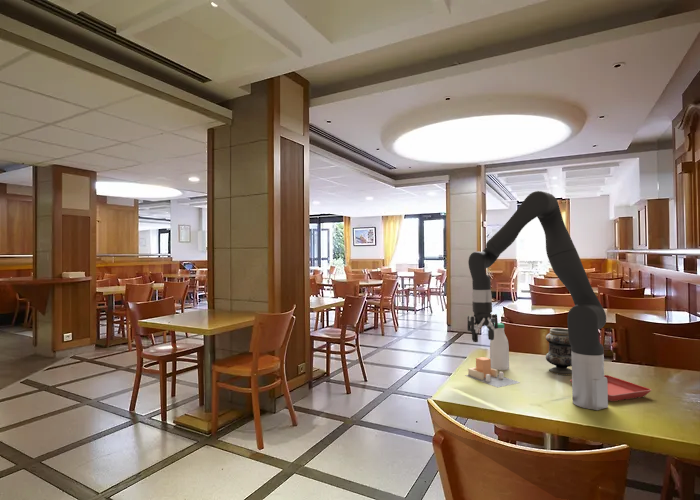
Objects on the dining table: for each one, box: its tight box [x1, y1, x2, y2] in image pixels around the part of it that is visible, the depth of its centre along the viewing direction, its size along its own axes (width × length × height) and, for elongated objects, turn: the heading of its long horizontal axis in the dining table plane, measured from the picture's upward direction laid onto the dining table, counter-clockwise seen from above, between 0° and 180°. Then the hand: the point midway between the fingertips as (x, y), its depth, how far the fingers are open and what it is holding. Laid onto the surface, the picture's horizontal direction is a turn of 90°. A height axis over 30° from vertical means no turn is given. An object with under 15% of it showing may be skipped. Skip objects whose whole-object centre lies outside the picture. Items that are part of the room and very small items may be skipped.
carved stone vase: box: [545, 327, 572, 376], centre depth 168 cm, size 12×12×18 cm
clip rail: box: [464, 366, 521, 388], centre depth 156 cm, size 17×12×4 cm
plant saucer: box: [569, 374, 652, 402], centre depth 142 cm, size 18×18×3 cm
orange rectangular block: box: [475, 356, 491, 378], centre depth 160 cm, size 4×4×7 cm
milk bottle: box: [489, 322, 510, 371], centre depth 172 cm, size 8×8×20 cm
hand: (483, 340), depth 160 cm, fingers open, 8 cm apart
